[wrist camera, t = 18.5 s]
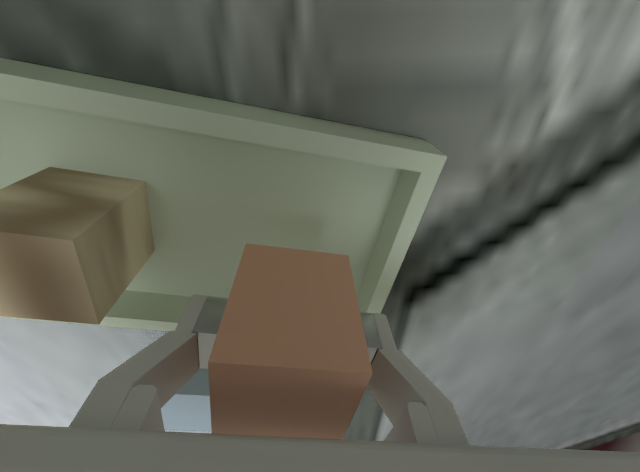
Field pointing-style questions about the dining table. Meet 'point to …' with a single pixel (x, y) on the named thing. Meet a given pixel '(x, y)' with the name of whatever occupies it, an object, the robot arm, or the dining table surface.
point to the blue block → (190, 405)
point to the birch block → (71, 244)
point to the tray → (220, 181)
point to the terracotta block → (289, 347)
